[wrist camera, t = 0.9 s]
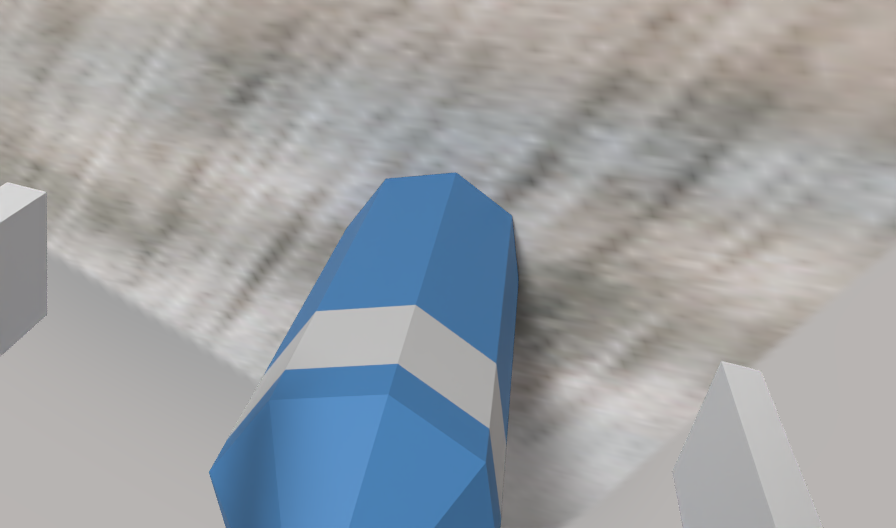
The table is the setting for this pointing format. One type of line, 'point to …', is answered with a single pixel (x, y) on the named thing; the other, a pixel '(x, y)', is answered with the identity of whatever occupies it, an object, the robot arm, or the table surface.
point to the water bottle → (388, 375)
